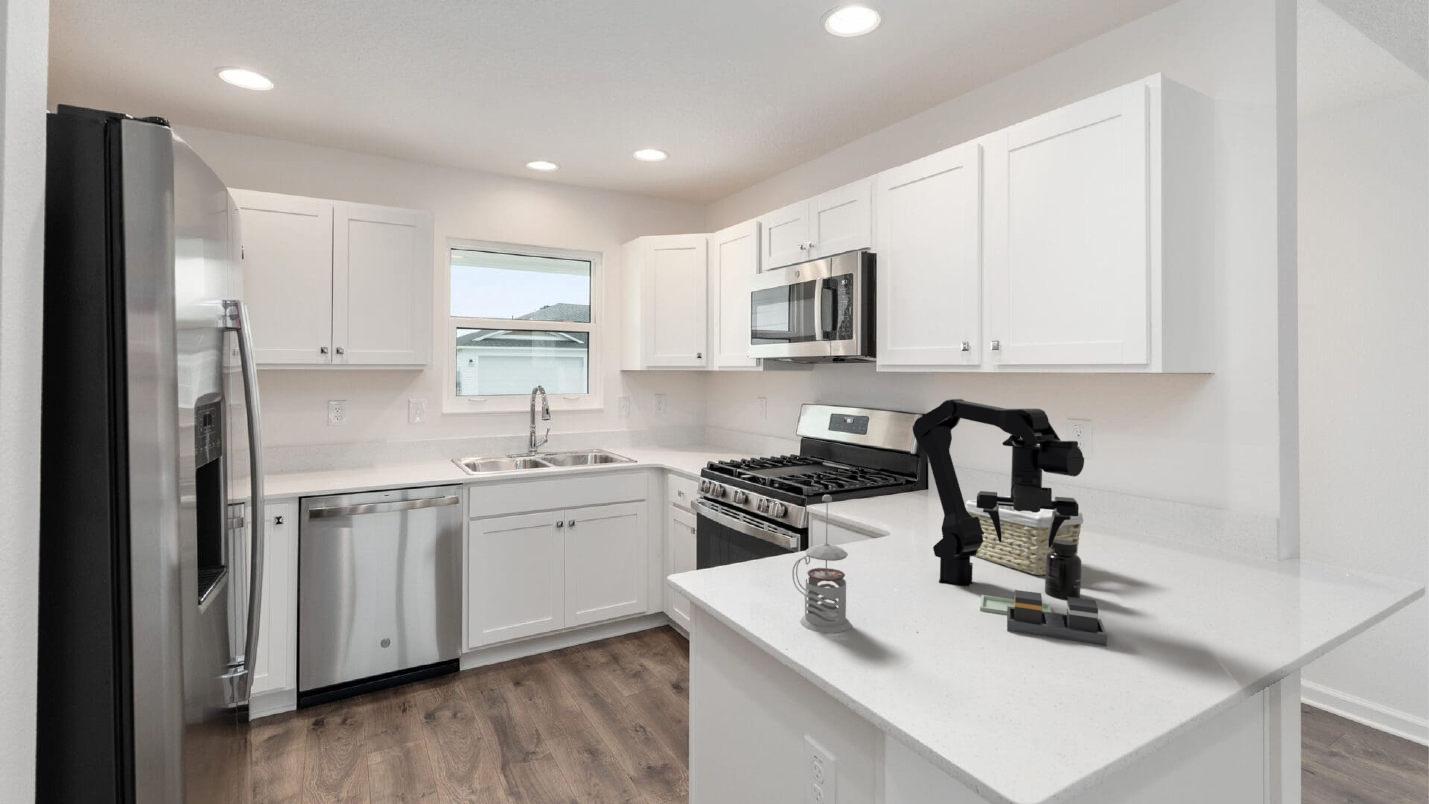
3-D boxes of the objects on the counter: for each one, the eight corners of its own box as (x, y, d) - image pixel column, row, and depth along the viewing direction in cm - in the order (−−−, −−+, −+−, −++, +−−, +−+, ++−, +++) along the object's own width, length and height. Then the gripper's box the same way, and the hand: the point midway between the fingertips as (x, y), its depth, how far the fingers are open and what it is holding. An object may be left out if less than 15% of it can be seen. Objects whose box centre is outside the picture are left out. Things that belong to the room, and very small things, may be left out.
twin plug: (1068, 636, 119) (1069, 604, 119) (1066, 627, 123) (1067, 596, 123) (1097, 641, 117) (1098, 608, 117) (1094, 631, 122) (1095, 600, 121)
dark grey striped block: (1041, 632, 121) (1042, 600, 121) (1014, 628, 123) (1015, 597, 123) (1040, 624, 125) (1041, 593, 125) (1014, 620, 127) (1014, 589, 127)
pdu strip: (1007, 633, 122) (1007, 620, 122) (1006, 618, 129) (1007, 606, 129) (1106, 648, 115) (1106, 635, 115) (1100, 632, 123) (1100, 619, 122)
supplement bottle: (1085, 603, 138) (1087, 547, 137) (1050, 600, 139) (1051, 545, 139) (1074, 592, 145) (1076, 539, 144) (1040, 590, 146) (1042, 537, 145)
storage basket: (960, 553, 175) (962, 499, 175) (1004, 547, 182) (1006, 494, 181) (1037, 580, 154) (1039, 517, 153) (1084, 571, 160) (1086, 511, 160)
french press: (840, 637, 120) (842, 501, 118) (782, 623, 126) (784, 495, 125) (858, 619, 128) (860, 493, 127) (803, 608, 134) (805, 487, 133)
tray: (979, 613, 132) (980, 607, 132) (981, 600, 139) (981, 594, 139) (1052, 623, 127) (1052, 617, 127) (1049, 609, 134) (1049, 604, 134)
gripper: (976, 471, 131) (974, 548, 132) (1082, 478, 123) (1079, 560, 124) (978, 464, 141) (976, 536, 142) (1076, 470, 134) (1074, 546, 134)
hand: (1024, 544), depth 135 cm, fingers open, 9 cm apart
